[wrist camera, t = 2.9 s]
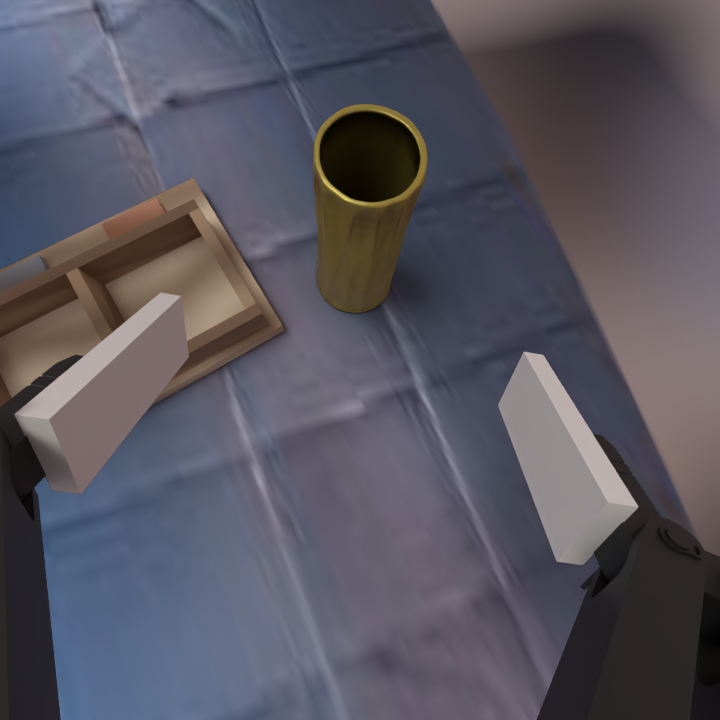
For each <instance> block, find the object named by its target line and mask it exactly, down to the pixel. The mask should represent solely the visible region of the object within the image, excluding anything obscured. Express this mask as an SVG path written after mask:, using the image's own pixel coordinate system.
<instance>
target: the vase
mask: <svg viewBox="0 0 720 720" xmlns="http://www.w3.org/2000/svg"><path fill="white" fill-rule="evenodd" d="M426 170H427V150H426V146H425V143H424V140H423V138H422V136H421V134H420V132H419V131H418V129H417V128H416V127H415V125H414V124H413V123H412V122H411V121H410V120H409V119H408V118H406V117H405V116H403V115H402V114H400V113H398V112H396V111H394V110H392V109H389V108H386V107H383V106H378V105H369V104H359V105H353V106H349V107H346V108H343V109H341V110H340V111H338V112H336V113H335V114H333V115H332V116H331V117H330V118H329V119H328V120H326V121H325V122H324V123H323V125H322V126H321V127H320V129H319V131H318V133H317V136H316V138H315V142H314V162H313V173H314V190H315V204H316V216H317V235H318V267H317V285H318V288H319V290H320V293H321V294H322V296H323V297H324V299H325V300H326V301H327V302H328V303H329V304H331V305H332V306H333V307H335V308H337V309H339V310H342V311H345V312H352V313H361V312H365V311H368V310H371V309H373V308H375V307H376V306H378V305H379V304H380V303H381V302H382V301H383V300H384V299H385V298H386V296H387V295H388V293H389V290H390V287H391V280H392V277H393V274H394V271H395V267H396V263H397V259H398V256H399V253H400V249H401V246H402V242H403V238H404V234H405V231H406V228H407V226H408V223H409V220H410V218H411V215H412V212H413V209H414V206H415V203H416V201H417V198H418V196H419V193H420V191H421V189H422V186H423V184H424V181H425V177H426Z"/></svg>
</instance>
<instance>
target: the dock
mask: <svg viewBox="0 0 720 720" xmlns="http://www.w3.org/2000/svg"><path fill="white" fill-rule="evenodd" d="M159 293H166V294H172V295H178V296H181V298H182V306H183V314H184V322H185V329H186V337H187V345H188V353H189V357H188V359H187V360H186V361H185V362H184V364H183V365H182V366H181V367H180V369H179V370H178V371H177V373H176V374H175V375H174V376H173V378H172V379H171V380H170V382H169V383H168V384H167V385H166V387H165V388H164V389H163V390H162V392H161V393H160V394H159V396H158V397H157V398H156V399H155V401H154V402H153V403H152V405H154V404H156V403H158V402H159V401H161V400H163V399H165V398H166V397H168V396H170V395H172V394H173V393H175V392H177V391H179V390H181V389H182V388H184V387H186V386H188V385H189V384H191V383H193V382H195V381H196V380H198V379H200V378H202V377H204V376H205V375H207V374H209V373H211V372H212V371H214V370H216V369H218V368H219V367H221V366H223V365H225V364H227V363H228V362H230V361H232V360H234V359H235V358H237V357H239V356H241V355H242V354H244V353H246V352H248V351H250V350H251V349H253V348H255V347H257V346H258V345H260V344H262V343H264V342H265V341H267V340H269V339H271V338H273V337H274V336H276V335H278V334H280V333H281V332H283V331H285V329H284V328H283V326H282V324H281V322H280V321H279V319H278V317H277V316H276V314H275V312H274V311H273V309H272V307H271V306H270V304H269V302H268V301H267V299H266V297H265V296H264V294H263V292H262V291H261V289H260V287H259V286H258V284H257V282H256V281H255V279H254V277H253V276H252V274H251V272H250V271H249V269H248V267H247V266H246V264H245V262H244V261H243V259H242V257H241V256H240V254H239V252H238V251H237V249H236V247H235V246H234V244H233V243H232V241H231V239H230V238H229V236H228V234H227V233H226V231H225V229H224V228H223V226H222V224H221V223H220V221H219V219H218V218H217V216H216V214H215V213H214V211H213V209H212V208H211V206H210V204H209V203H208V201H207V199H206V198H205V196H204V194H203V193H202V191H201V189H200V188H199V186H198V184H197V183H196V181H195V179H194V178H192V179H190V180H188V181H186V182H183V183H181V184H179V185H177V186H175V187H173V188H171V189H169V190H167V191H165V192H163V193H160V194H158V195H156V196H154V197H152V198H150V199H148V200H146V201H144V202H142V203H139V204H137V205H135V206H133V207H131V208H129V209H127V210H125V211H123V212H121V213H118V214H116V215H114V216H112V217H110V218H108V219H106V220H104V221H102V222H100V223H97V224H95V225H93V226H91V227H89V228H87V229H85V230H83V231H81V232H79V233H77V234H74V235H72V236H70V237H68V238H66V239H64V240H62V241H60V242H58V243H56V244H53V245H51V246H49V247H47V248H45V249H43V250H41V251H39V252H37V253H35V254H32V255H30V256H28V257H26V258H24V259H22V260H20V261H18V262H16V263H14V264H11V265H9V266H7V267H5V268H3V269H1V270H0V407H1V406H2V405H3V404H5V403H6V402H7V401H8V400H10V399H11V398H12V397H14V396H15V395H16V394H17V393H19V392H20V391H21V390H23V389H24V388H25V387H26V386H28V385H29V386H30V385H31V382H33V381H34V380H35V379H37V378H38V377H39V376H42V374H43V373H44V372H45V371H47V370H48V369H49V368H51V367H52V366H53V365H54V364H56V363H58V362H60V361H62V360H64V359H66V358H69V357H71V356H73V355H81V356H85V355H86V354H87V353H88V352H90V351H91V350H92V349H93V348H94V347H96V346H97V345H98V344H99V343H100V342H102V341H103V340H104V339H105V338H107V337H108V336H109V335H110V334H111V333H113V332H114V331H115V330H116V329H117V328H119V327H120V326H121V325H122V324H123V323H125V322H126V321H127V320H128V319H129V318H131V317H132V316H133V315H134V314H135V313H137V312H138V311H139V310H140V309H141V308H143V307H144V306H145V305H146V304H147V303H149V302H150V301H151V300H152V299H153V298H155V297H156V296H157V295H158V294H159ZM152 405H151V406H152Z"/></svg>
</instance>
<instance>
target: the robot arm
mask: <svg viewBox="0 0 720 720" xmlns="http://www.w3.org/2000/svg"><path fill="white" fill-rule="evenodd" d="M188 357H189V353H188V345H187V337H186V329H185V322H184V314H183V306H182V298H181V296H178V295H172V294H166V293H159V294H158V295H157V296H156V297H155V298H153V299H152V300H151V301H150V302H149V303H147V304H146V305H145V306H144V307H143V308H141V309H140V310H139V311H138V312H137V313H135V314H134V315H133V316H132V317H131V318H129V319H128V320H127V321H126V322H125V323H123V324H122V325H121V326H120V327H119V328H117V329H116V330H115V331H114V332H113V333H111V334H110V335H109V336H108V337H107V338H105V339H104V340H103V341H102V342H100V343H99V344H98V345H97V346H96V347H94V348H93V349H92V350H91V351H90V352H88V353H87V354H86V355H85V356H81V355H73V356H71V357H69V358H66V359H64V360H62V361H60V362H58V363H56V364H54V365H53V366H52V367H51V368H49V369H48V370H47V371H45V372H44V373H43V374H42V376H39V377H38V378H37V379H35V380H34V381H33V382H31V385H30V386H29V385H28V386H26V387H25V388H24V389H23V390H21V391H20V392H19V393H17V394H16V395H15V396H14V397H12V398H11V399H10V400H8V401H7V402H6V403H5V404H3V405H2V406H1V407H0V720H61V719H60V709H59V699H58V689H57V679H56V670H55V660H54V650H53V640H52V630H51V620H50V610H49V600H48V590H47V580H46V570H45V560H44V551H43V541H42V531H41V521H40V511H39V501H38V495H37V493H36V491H35V489H34V487H35V486H36V485H37V484H38V483H39V482H40V481H41V480H42V479H43V478H44V477H46V479H47V481H48V483H49V485H50V487H51V489H52V490H55V491H62V492H69V493H76V494H82V493H83V491H84V490H85V489H86V488H87V486H88V485H89V484H90V483H91V481H92V480H93V479H94V477H95V476H96V475H97V474H98V472H99V471H100V470H101V468H102V467H103V466H104V465H105V463H106V462H107V461H108V460H109V458H110V457H111V456H112V454H113V453H114V452H115V451H116V449H117V448H118V447H119V445H120V444H121V443H122V442H123V440H124V439H125V438H126V436H127V435H128V434H129V433H130V431H131V430H132V429H133V428H134V426H135V425H136V424H137V422H138V421H139V420H140V419H141V417H142V416H143V415H144V413H145V412H146V411H147V410H148V408H149V407H150V406H151V405H152V403H153V402H154V401H155V399H156V398H157V397H158V396H159V394H160V393H161V392H162V390H163V389H164V388H165V387H166V385H167V384H168V383H169V382H170V380H171V379H172V378H173V376H174V375H175V374H176V373H177V371H178V370H179V369H180V367H181V366H182V365H183V364H184V362H185V361H186V360H187V359H188ZM498 406H499V409H500V412H501V414H502V417H503V420H504V422H505V425H506V428H507V430H508V433H509V436H510V438H511V441H512V444H513V446H514V449H515V452H516V454H517V457H518V460H519V462H520V465H521V468H522V470H523V473H524V476H525V478H526V481H527V484H528V486H529V489H530V492H531V494H532V497H533V500H534V502H535V505H536V508H537V511H538V513H539V516H540V519H541V521H542V524H543V527H544V529H545V532H546V535H547V537H548V540H549V543H550V545H551V548H552V551H553V553H554V556H555V559H556V561H557V562H564V563H571V564H578V565H583V564H584V563H585V562H586V561H587V560H588V559H589V558H590V557H591V556H592V555H593V554H595V556H596V559H597V561H598V563H599V565H600V567H599V568H598V569H597V570H596V571H595V572H594V573H593V574H592V575H591V576H590V577H589V578H588V579H587V580H586V581H585V582H584V583H583V584H582V586H581V588H582V589H584V590H585V589H586V588H587V587H588V586H589V587H588V590H587V592H586V595H585V598H584V600H583V603H582V605H581V608H580V610H579V613H578V615H577V618H576V621H575V623H574V626H573V628H572V631H571V633H570V636H569V638H568V641H567V644H566V646H565V649H564V651H563V654H562V656H561V659H560V661H559V664H558V667H557V669H556V672H555V674H554V677H553V679H552V682H551V684H550V687H549V690H548V692H547V695H546V697H545V700H544V702H543V705H542V707H541V710H540V713H539V715H538V718H537V720H720V557H719V556H716V555H714V554H711V553H709V552H707V551H704V549H703V547H702V546H701V544H700V543H699V542H698V541H697V539H696V538H695V537H694V536H693V535H692V534H691V533H690V532H688V531H687V530H686V529H684V528H683V527H681V526H680V525H679V524H677V523H675V522H673V521H671V520H669V519H666V518H662V517H661V516H660V515H659V513H658V512H657V510H656V509H655V507H654V506H653V504H652V503H651V501H650V500H649V498H648V497H647V495H646V494H645V492H644V491H643V489H642V488H641V486H640V485H639V483H638V482H637V480H636V479H635V477H634V476H632V473H631V471H630V470H629V468H628V467H627V465H625V464H624V461H623V459H622V458H621V456H620V455H619V453H618V452H617V450H616V449H615V448H614V447H613V446H612V445H611V444H610V443H609V442H608V441H607V440H606V439H605V438H604V437H602V436H601V435H596V434H592V432H591V430H590V429H589V427H588V426H587V424H586V423H585V421H584V419H583V418H582V416H581V415H580V413H579V411H578V410H577V408H576V407H575V405H574V403H573V402H572V400H571V399H570V397H569V395H568V394H567V392H566V391H565V389H564V388H563V386H562V384H561V383H560V381H559V380H558V378H557V376H556V375H555V373H554V372H553V370H552V368H551V367H550V365H549V364H548V362H547V360H546V359H545V357H544V356H543V355H540V354H534V353H528V352H523V355H522V357H521V359H520V361H519V363H518V365H517V367H516V369H515V371H514V373H513V375H512V377H511V379H510V382H509V384H508V386H507V388H506V390H505V392H504V394H503V396H502V398H501V400H500V402H499V404H498Z"/></svg>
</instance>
